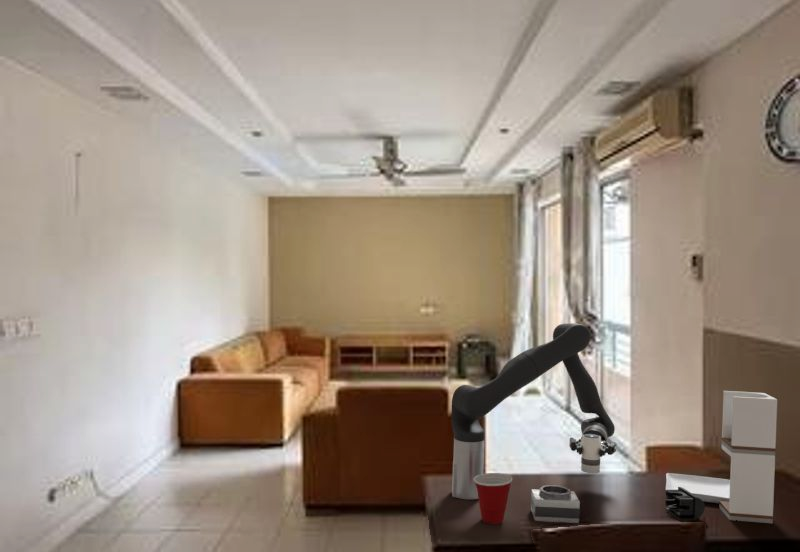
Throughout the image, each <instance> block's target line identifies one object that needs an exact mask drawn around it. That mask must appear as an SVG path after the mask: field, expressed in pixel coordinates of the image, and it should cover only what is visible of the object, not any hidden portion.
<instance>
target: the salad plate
mask: <svg viewBox="0 0 800 552" xmlns="http://www.w3.org/2000/svg"><path fill="white" fill-rule="evenodd" d="M665 477H666V479H665V480H666V481H665V482H666V483H665V491H666V490H678V487H682V488H684V489H685V490H687V491H689V492H690V493H692V494H693V495H695V496H697V497H698V498H700V499H701V500H702V501H703V502H704V503H713V504H719V501H727V502H729V497H730V479H727V478H720V477H719V478H717V477H711V476H701V475H693V474H692V475H691V474H681V473H671V472H667V473H666V474H665ZM673 498H675V496H673Z"/></svg>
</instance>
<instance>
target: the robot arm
mask: <svg viewBox="0 0 800 552" xmlns="http://www.w3.org/2000/svg"><path fill="white" fill-rule="evenodd" d="M591 334H592V333H591V331H590V329H589V327H587V326H586V325H584V324H582V323H577V322H575V323H574V322H572V323H571V322H570V323H561V324H558V325H556V326H555V328H554V330H553V333H552V340H550V341H548V342H546V343H543V344H541V345H537V346H534V347H531V348H529V349H526V350H525V351H522V352H521V353H518V355H516V356H515V357H513V358H511V359H510V360H509V361H507V362H506V364H504V366H503V367H502V369H501V371H500V372H499V374H498V375H497V376H496V377H495V378H494V379H492V380H491V381H488V382H487V383H485V384H484V385H482V386H479V387H476V386H474V385H469V384H463V385H462V384H461V385H460V386H458V387H457V388H456V389H455V390H454V392H453V394H452V398H451V426H452V427H451V428H452V431H453V458H452V459H453V461H452V483H451V485H452V486H451V487H452V488H451V495H452V496H451V497H452V498H457V499H461V500H479V498H478V491H477V487H476V484H475V482H474V481H473V479H474V477H475V476H477V475H481V474H484V468H485V467H484V466H485V463H484V462H485V459H484V458H485V431H484V429H483V426H481V423H480V421H479V419H480V418H484V416H486V415H488V414H489V413H490V412H491V411H493V410H494V409H495V408H496V407H497V406H499V405H500V404H501V403H502V402H503V401H504V400H505V399H507V398H508V397H510V396H512V395H513V394H515V393H517V392H518V391H519V390H520V389H522V388H524V387H526V386H527V385H529V384H531V383H532V382H534V381H536V379H538V378H539V377H541V376H542V375H543V374H545V373H547V372H548V371H550V370H551V369H552V368H554V367H555V366H556V365H558V364H560V363H561V362H562V363H563V365H564V368H565V369H566V372H567V374H568V376H569V378H570V381H571V383H572V386H573V390H574V392H575V395H576V398H577V403H578V406H579V408H580V411H581V412H582V413H584V414H594V415H597V416H596V417H591V418H587V419H584V420H583V421H582V422H581V423H580V431H581V433H582V435H584V434H594V435H598V436H600V437H601V447H600V458H602V457H603V456H604V457H605V456H606V454H607V455H609V456H612V455H613V454H614V453H616V452H617V442H615V441H613V442H609V443H608V438H610V437H613V435H614V433H615V430H616V429H615V425H614V422H613V420H612V419H611V417H610V416H609V414H608V413H607V411H606V409H605V408H604V405H603V404H602V400H601V397H600V394H599V390H598V387H597V385H596V383H595V381H594V379H593V378H592V376H591V375H590V373H589V372H588V370H587V369H586V367H585V366H584V364H583V362H582V360H581V358H580V355H579V353H581V352H582V351H584V350H585V349H586V348H587V347H588V346H589V344H590V342H591V336H592V335H591ZM582 435H581V437H580V438H579V439H578V440H577V439H576V438H574V437H570V438H569V447H570V450H571V451H572V452H576V453H577V454H578V455H580V456H582Z"/></svg>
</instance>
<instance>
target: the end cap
mask: <svg viewBox="0 0 800 552" xmlns="http://www.w3.org/2000/svg"><path fill="white" fill-rule="evenodd" d="M665 496H666V497H669V496H672V497H674V496H675V497H674V498H673V499H665V501H664V503H665V507H666V508H665V511H666V512H667V513H669V514H670V515H672V516H673V517H675V518H676V519H677V520H679V521H681V520H693V521H696V520H697V519H699V518H701V517H702V516H703V515H704V513H705V509H706V506H705V502H704V501H702V500H701V499H700V498H698V497H697V496H695V495H693V494H692V493H690V492H689V491H687V490H685V489H684V488H682V487H678V490H666V489H665Z"/></svg>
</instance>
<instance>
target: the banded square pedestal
mask: <svg viewBox="0 0 800 552" xmlns="http://www.w3.org/2000/svg"><path fill="white" fill-rule="evenodd" d="M530 499H531V500H530V511H531V514H532V516H533V519H534V521H536V522H547V523H548V522H550V523H553V522H554V523H566V524H567V523H568V524H570V523H572V524H579V523H580V513H581V511H580V510H581V509H580V506H581V505H580V504H581V501H580V499H579V498H578V495H577V494H576V492H575V491H573V490H571V489H570V488H568V487H565V486H561V485H555V484H553V485H551V484H549V485H548V484H547V485H542V486H540V487H539V488H538V489H535V488H534V489H533V488H532V489H531V498H530Z"/></svg>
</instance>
